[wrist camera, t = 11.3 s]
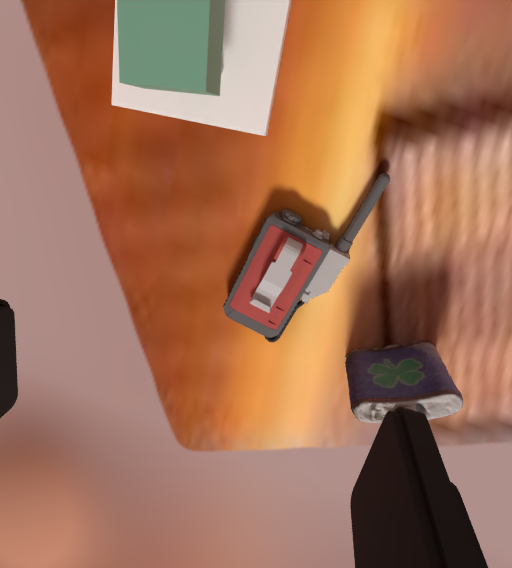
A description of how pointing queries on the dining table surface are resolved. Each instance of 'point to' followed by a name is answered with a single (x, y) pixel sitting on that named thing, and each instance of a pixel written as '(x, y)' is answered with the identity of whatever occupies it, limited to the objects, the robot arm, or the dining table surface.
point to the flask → (400, 382)
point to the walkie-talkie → (291, 268)
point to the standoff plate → (225, 72)
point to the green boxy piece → (171, 44)
